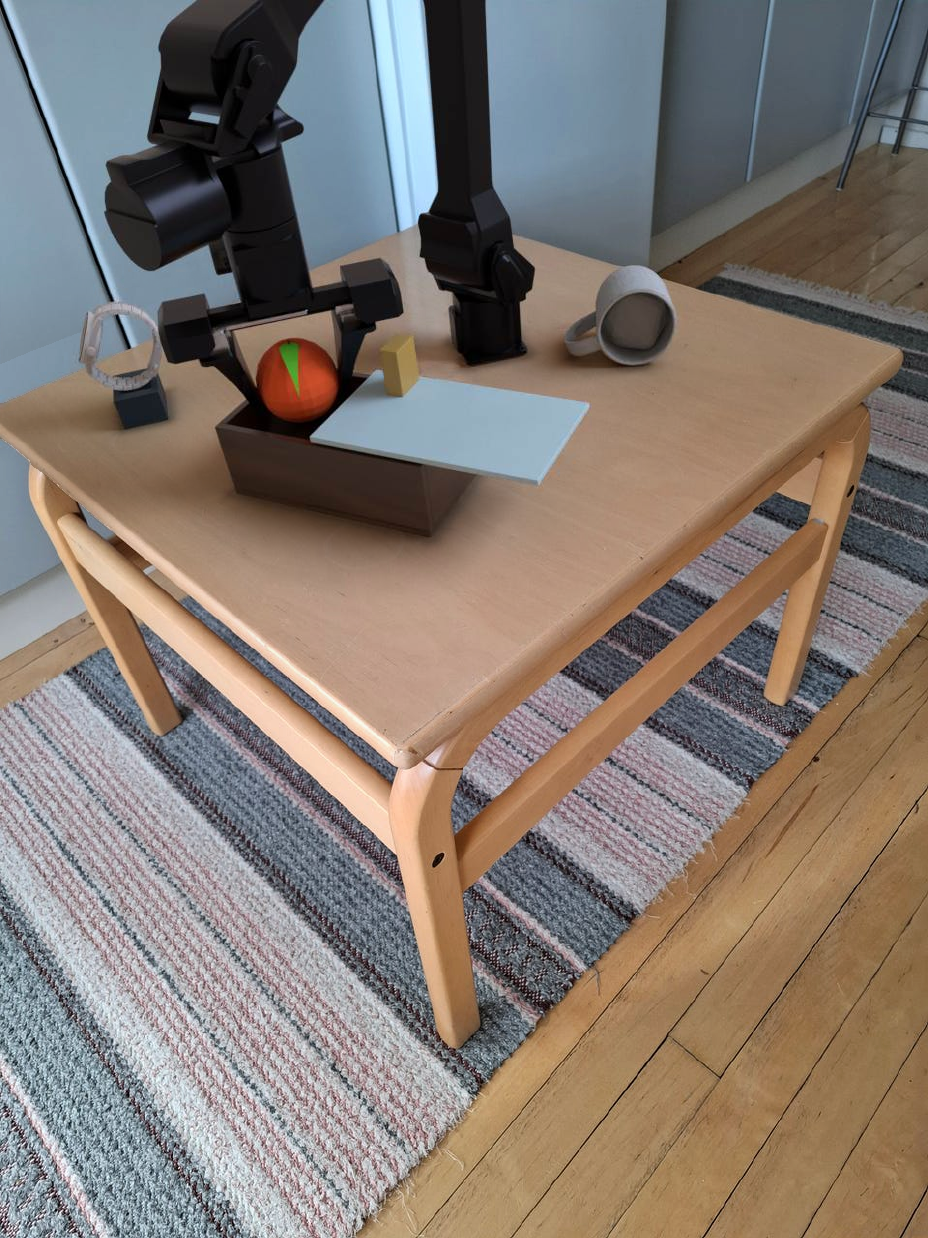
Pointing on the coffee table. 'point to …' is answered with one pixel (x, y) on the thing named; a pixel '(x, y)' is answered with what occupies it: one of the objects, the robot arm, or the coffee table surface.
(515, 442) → the lid
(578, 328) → the ceramic mug
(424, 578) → the coffee table surface
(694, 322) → the coffee table surface
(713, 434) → the coffee table surface
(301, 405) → the clementine
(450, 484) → the case
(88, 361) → the watch
